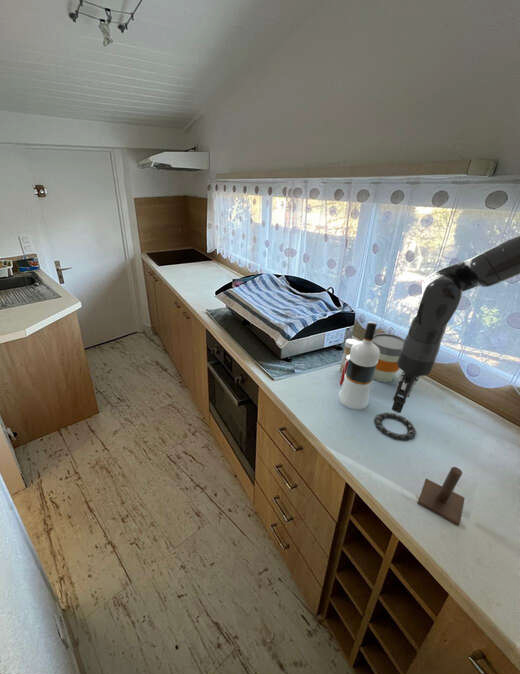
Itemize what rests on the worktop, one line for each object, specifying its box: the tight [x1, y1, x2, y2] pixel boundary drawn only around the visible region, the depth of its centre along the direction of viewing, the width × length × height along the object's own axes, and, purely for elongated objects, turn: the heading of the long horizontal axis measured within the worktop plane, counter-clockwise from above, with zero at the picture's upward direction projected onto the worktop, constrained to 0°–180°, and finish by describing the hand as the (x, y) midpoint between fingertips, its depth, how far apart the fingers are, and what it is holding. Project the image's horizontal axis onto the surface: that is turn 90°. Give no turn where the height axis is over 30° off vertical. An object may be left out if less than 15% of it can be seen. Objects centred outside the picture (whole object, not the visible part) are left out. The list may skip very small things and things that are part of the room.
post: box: [417, 466, 466, 527], centre depth 70 cm, size 8×8×11 cm
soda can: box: [339, 355, 349, 387], centre depth 109 cm, size 5×5×12 cm
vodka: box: [338, 321, 380, 410], centre depth 97 cm, size 9×9×30 cm
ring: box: [373, 412, 417, 442], centre depth 92 cm, size 11×11×2 cm
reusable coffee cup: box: [372, 332, 405, 382], centre depth 114 cm, size 13×13×15 cm
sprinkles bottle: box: [339, 338, 359, 373], centre depth 117 cm, size 5×5×14 cm
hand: (400, 403), depth 84 cm, fingers open, 8 cm apart
